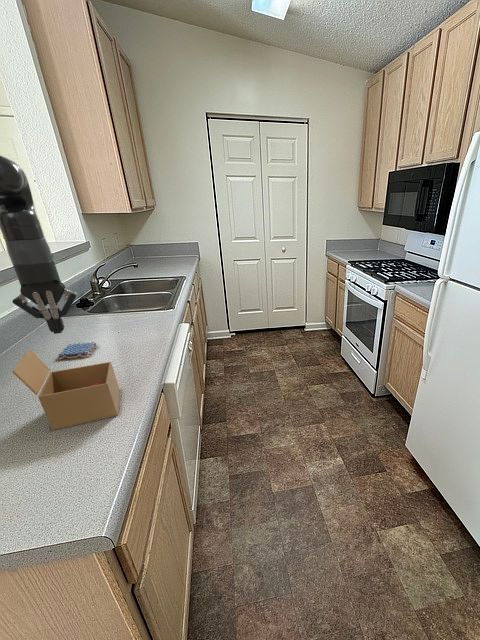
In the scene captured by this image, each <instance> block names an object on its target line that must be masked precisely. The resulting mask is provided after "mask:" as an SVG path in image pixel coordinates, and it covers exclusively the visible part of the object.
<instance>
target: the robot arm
mask: <svg viewBox="0 0 480 640" xmlns="http://www.w3.org/2000/svg"><path fill="white" fill-rule="evenodd" d="M0 232H1V234H2V236H3V240H4V243H5V247H6V251H7V254H8V256H9V259H10V262H11V264H12V266H13V269H14V271H15V275H16V277H17V281H18V283H19V285H20V289H19V292H20V294H19V295H18V296H16V297H14V298H13V299H12V301H11V302H12V304H13V305H15V306H17V307H18V308H20V309H21V310H23V311H24V312H26V313H27V314H29V315H30V316H32V317H34V318H36V319H43V320H45V321H46V324H47V327H48V330H49V331H50V332H51V333H53V334H54V335H57V334H62V333H63V331H64V330H65V324H64V321H63V318H62V317H64V316H66V315H68V312H69V311H70V309H71V307H72V305H73V304H74V302H75V300H76V298H77V297H78V292H77V291H73V290H71V289H67V288H66V285H65V284H64V283H63V282H62V281H61V278H60V275H59V272H58V268H57V266H56V263H55V260H54V255H53V253H52V251H51V248H50V246H49V244H48V242H47V239H46V237H45V234H44V231H43V228H42V225H41V222H40V219H39V218H38V214H37V212H36V208H35V203H34V199H33V195H32V190H31V186H30V183H29V180H28V178H27V175H26V173H25V171H24V169H22V167H21V166H20V165H19V164H17V162H15V161H13V160H12V159H9V158H7V157H5V156H3V155H0ZM63 295H64V298H65V300H66V301H65V303H64V305H63V307H62V308H61V309H60V301H61V299H62V297H63ZM29 301H31V302H32V303H33V304H35V305H37V307H38V308H37V307H36V306H34V305H33V304H32V303H30V302H29Z"/></svg>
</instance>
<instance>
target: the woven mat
mask: <svg viewBox="0 0 480 640" xmlns="http://www.w3.org/2000/svg"><path fill="white" fill-rule="evenodd" d="M97 346H98V344H97V342H94V341H92V342H86V343H85V342H82V343H81V342H79V343H73V344H71V343H69V344H68V345H66V346H65V347H64V349H63V350H61V351H60V352H59V353H58V359H59V360H64V359H77V358H80V357H82V358H89V357H90V355H92V354H93V351H95V350H94V349H97V348H98V347H97Z"/></svg>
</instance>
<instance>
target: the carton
mask: <svg viewBox="0 0 480 640" xmlns="http://www.w3.org/2000/svg"><path fill="white" fill-rule="evenodd" d="M98 382H105V384H100V385H95V386H91V385H92V384H94V383H98ZM120 393H121V392H120V386H119V384H118V381H117V378H116V374H115V371H114V367H113V364H112V361H108V362H101V363H96V364H89V365H84V366H79V367H72V368H67V369H60V370H55V371H49V373H48V375H47V377H46V379H45V381H44V383H43V385H42V387H41V389H40V391H39V393H38V397H37V398H38V400H39V402H40V405H41V407H42V409H43V412H44V414H45V416H46V418H47V421H48V423H49V426H50V428H51V430H52V431H55V430H59V429H63V428H68V427H73V426H77V425H82V424H86V423H90V422H95V421H98V420H103V419H108V418H113V417H117V416H118V414H119V402H120Z"/></svg>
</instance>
